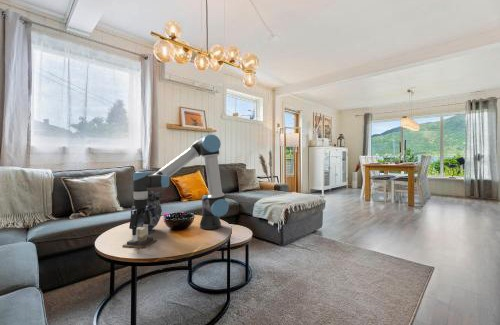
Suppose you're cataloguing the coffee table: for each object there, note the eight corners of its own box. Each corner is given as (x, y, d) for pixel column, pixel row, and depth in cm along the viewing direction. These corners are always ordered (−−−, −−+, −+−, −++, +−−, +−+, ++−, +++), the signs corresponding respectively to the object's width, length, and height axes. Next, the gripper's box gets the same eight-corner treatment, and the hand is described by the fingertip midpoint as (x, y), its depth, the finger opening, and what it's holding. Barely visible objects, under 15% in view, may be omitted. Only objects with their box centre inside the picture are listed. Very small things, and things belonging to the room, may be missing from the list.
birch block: (147, 240, 140) (147, 227, 140) (141, 243, 135) (141, 229, 135) (139, 240, 141) (139, 226, 141) (133, 243, 136) (133, 229, 136)
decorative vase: (167, 229, 168) (167, 189, 168) (154, 237, 150) (154, 192, 150) (138, 228, 170) (139, 189, 170) (122, 236, 152) (122, 192, 152)
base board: (157, 240, 143) (157, 236, 143) (143, 248, 130) (143, 243, 130) (137, 239, 145) (137, 235, 145) (122, 247, 132) (122, 242, 132)
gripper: (145, 196, 149) (145, 232, 149) (121, 201, 128) (121, 243, 128) (156, 196, 148) (156, 232, 148) (134, 201, 127) (134, 244, 126)
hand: (140, 237), depth 138 cm, fingers open, 9 cm apart
